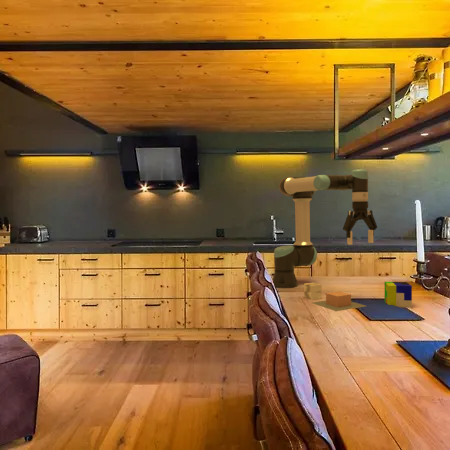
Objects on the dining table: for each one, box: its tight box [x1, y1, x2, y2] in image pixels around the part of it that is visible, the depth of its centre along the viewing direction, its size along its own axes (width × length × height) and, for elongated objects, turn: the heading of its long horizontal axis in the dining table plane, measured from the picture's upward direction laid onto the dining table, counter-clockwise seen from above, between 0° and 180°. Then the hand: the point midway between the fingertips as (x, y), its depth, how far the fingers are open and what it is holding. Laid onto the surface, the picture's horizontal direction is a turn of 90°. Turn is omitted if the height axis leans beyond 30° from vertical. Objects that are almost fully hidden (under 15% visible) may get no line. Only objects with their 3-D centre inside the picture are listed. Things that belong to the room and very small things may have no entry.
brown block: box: [303, 282, 322, 301], centre depth 205 cm, size 6×6×8 cm
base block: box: [325, 290, 352, 307], centre depth 191 cm, size 8×8×5 cm
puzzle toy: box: [384, 281, 413, 309], centre depth 192 cm, size 10×10×10 cm
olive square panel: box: [312, 300, 366, 312], centre depth 191 cm, size 18×18×1 cm
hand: (360, 243), depth 203 cm, fingers open, 13 cm apart
